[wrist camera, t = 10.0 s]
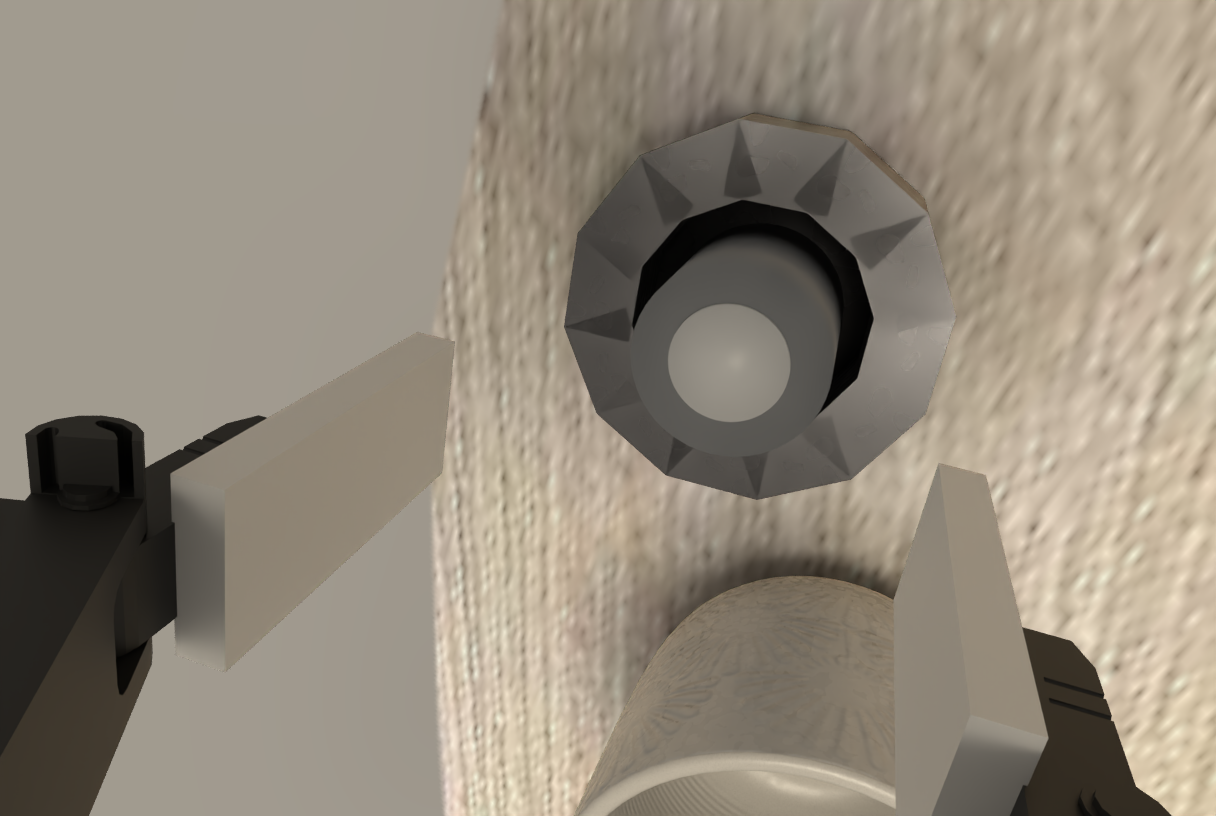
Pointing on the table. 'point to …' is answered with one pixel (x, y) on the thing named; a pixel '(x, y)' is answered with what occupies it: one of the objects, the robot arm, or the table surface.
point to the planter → (761, 710)
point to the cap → (741, 341)
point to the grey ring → (817, 208)
